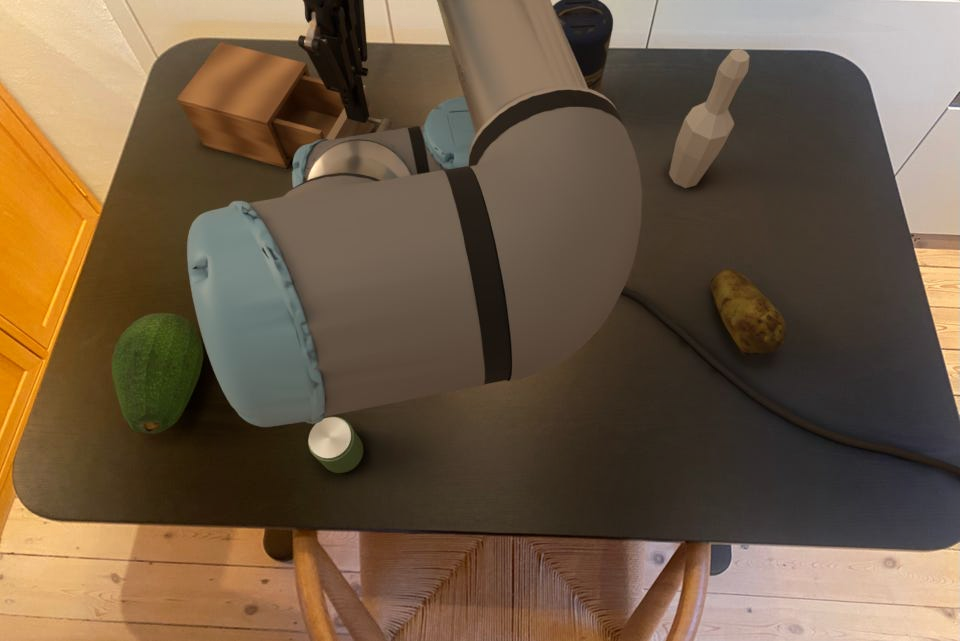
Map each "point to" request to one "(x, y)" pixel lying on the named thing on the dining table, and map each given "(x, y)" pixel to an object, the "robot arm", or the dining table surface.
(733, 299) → the potato
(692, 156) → the bowling pin
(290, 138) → the drawer
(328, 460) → the can
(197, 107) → the cabinet
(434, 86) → the dining table surface
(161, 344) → the fruit
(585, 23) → the canister
